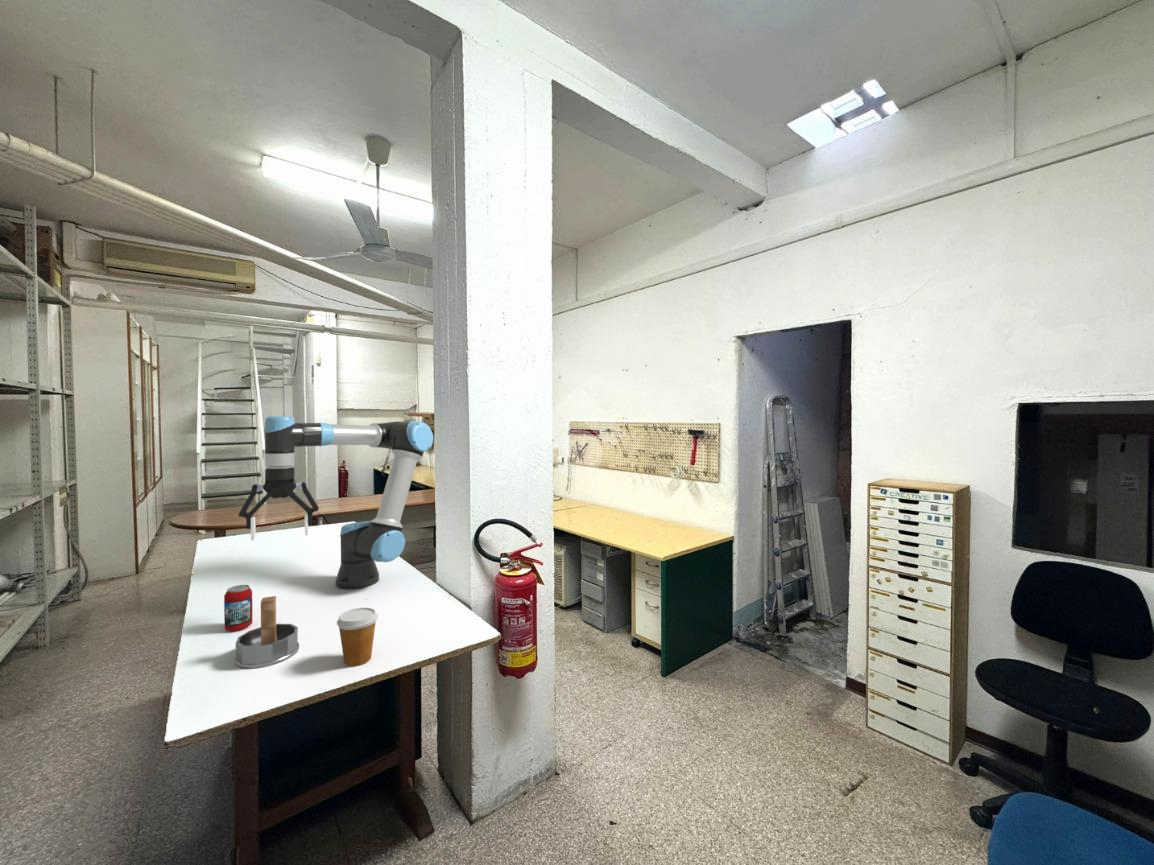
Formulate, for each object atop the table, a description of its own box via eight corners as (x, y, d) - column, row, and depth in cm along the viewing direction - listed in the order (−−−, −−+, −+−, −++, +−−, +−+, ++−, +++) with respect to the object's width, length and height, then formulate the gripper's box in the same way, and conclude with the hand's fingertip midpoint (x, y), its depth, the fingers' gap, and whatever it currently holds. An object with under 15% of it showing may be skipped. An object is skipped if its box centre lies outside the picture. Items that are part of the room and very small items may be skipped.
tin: (300, 637, 129) (300, 619, 129) (296, 660, 117) (296, 640, 117) (240, 648, 123) (240, 629, 123) (229, 674, 110) (229, 652, 110)
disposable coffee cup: (346, 651, 122) (346, 607, 121) (383, 650, 122) (382, 606, 122) (330, 670, 112) (329, 622, 112) (370, 669, 113) (369, 621, 113)
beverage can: (222, 634, 131) (221, 593, 131) (227, 625, 137) (226, 586, 137) (250, 629, 134) (250, 589, 134) (254, 621, 140) (254, 582, 140)
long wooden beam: (276, 647, 122) (276, 595, 122) (274, 652, 119) (274, 599, 119) (263, 650, 121) (262, 597, 120) (261, 655, 118) (260, 601, 118)
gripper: (327, 464, 146) (327, 529, 147) (231, 467, 135) (232, 538, 135) (326, 466, 140) (327, 535, 140) (225, 470, 128) (226, 544, 129)
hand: (280, 537), depth 138 cm, fingers open, 13 cm apart
